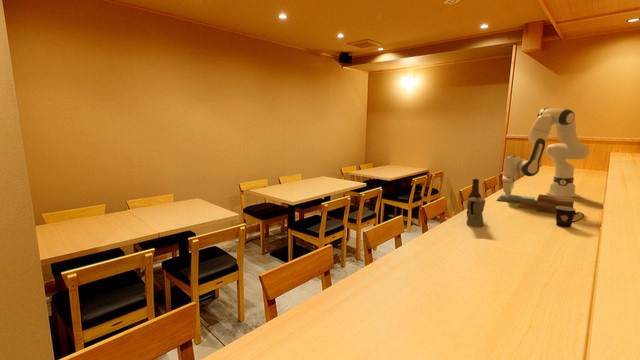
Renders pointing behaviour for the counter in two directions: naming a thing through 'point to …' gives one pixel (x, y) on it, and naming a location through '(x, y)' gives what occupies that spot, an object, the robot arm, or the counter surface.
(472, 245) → the counter surface
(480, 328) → the counter surface
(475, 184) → the beer bottle
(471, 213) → the coffeepot
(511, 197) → the cover plate
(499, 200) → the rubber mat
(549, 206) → the walnut case
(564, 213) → the coffee mug
